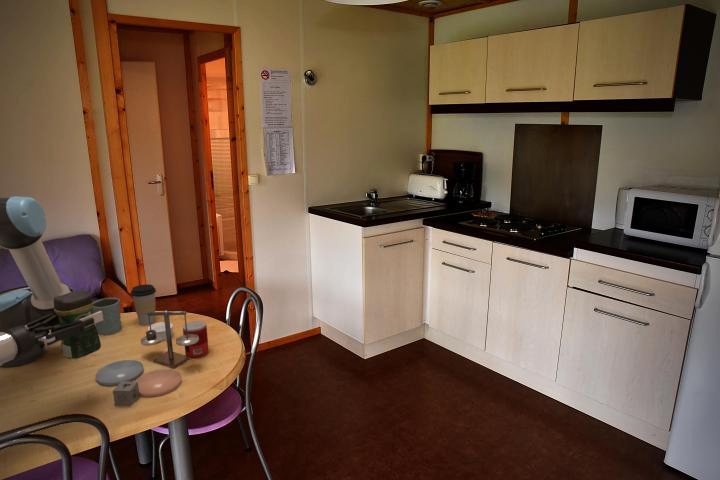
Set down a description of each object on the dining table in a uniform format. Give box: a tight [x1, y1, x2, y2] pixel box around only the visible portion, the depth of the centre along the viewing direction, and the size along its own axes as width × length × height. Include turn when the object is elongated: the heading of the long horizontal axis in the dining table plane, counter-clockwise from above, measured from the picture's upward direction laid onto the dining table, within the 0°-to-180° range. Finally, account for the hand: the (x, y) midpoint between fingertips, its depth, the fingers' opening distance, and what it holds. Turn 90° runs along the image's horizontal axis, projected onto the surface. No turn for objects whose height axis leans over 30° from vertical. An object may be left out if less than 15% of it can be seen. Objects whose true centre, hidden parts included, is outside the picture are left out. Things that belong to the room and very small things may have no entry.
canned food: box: [182, 320, 210, 359], centre depth 172 cm, size 8×8×11 cm
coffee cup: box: [130, 284, 157, 326], centre depth 198 cm, size 9×9×15 cm
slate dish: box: [95, 359, 145, 387], centre depth 160 cm, size 14×14×2 cm
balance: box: [140, 310, 199, 370], centre depth 166 cm, size 24×7×20 cm, turn 64°
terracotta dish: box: [134, 368, 182, 398], centre depth 154 cm, size 14×14×2 cm
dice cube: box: [112, 381, 141, 407], centre depth 145 cm, size 5×5×5 cm
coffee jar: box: [54, 288, 102, 360], centre depth 140 cm, size 10×8×19 cm
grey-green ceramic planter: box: [93, 297, 122, 336], centre depth 191 cm, size 10×10×12 cm
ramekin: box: [147, 321, 174, 342], centre depth 186 cm, size 9×9×4 cm
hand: (92, 312), depth 144 cm, fingers closed on coffee jar, 8 cm apart
